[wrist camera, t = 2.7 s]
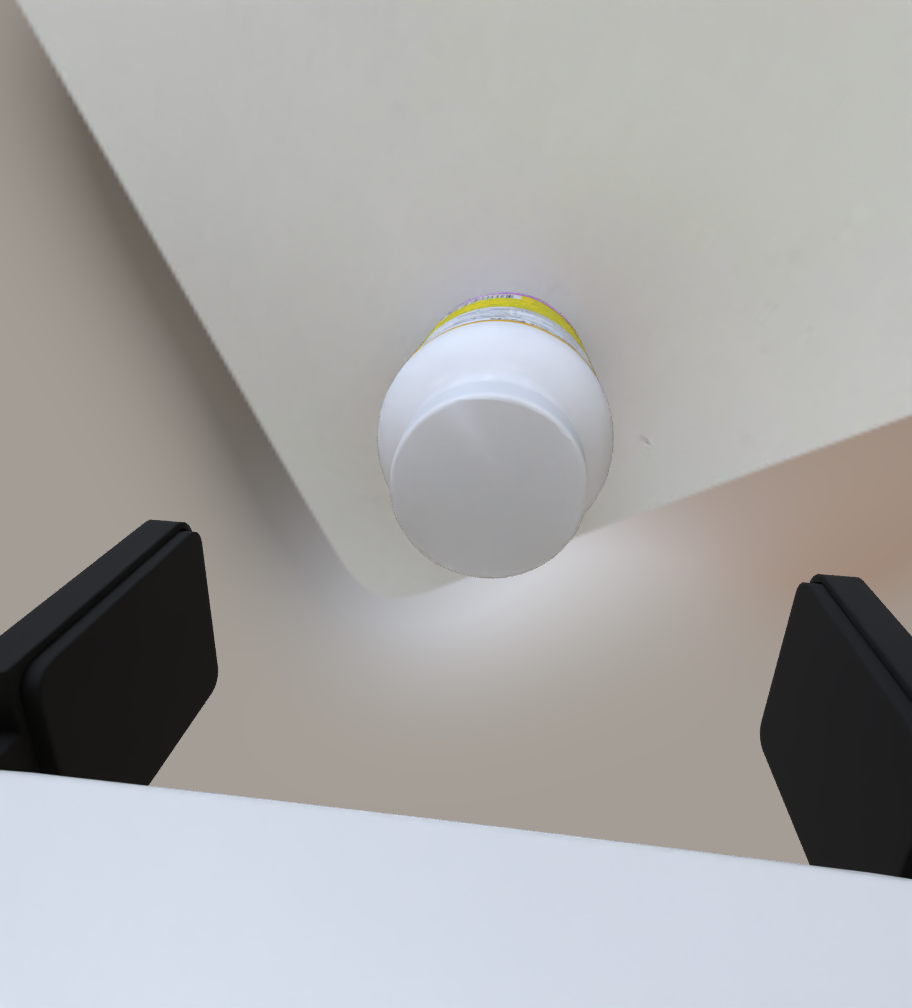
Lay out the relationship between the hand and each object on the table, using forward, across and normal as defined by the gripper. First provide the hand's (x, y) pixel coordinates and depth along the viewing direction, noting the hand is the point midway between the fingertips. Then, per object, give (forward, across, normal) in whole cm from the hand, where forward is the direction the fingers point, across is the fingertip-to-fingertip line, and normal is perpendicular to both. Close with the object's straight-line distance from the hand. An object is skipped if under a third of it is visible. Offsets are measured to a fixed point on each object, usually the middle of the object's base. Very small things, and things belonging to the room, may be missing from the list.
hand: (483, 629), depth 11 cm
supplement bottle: (+19, +1, 0) cm, 19 cm away
